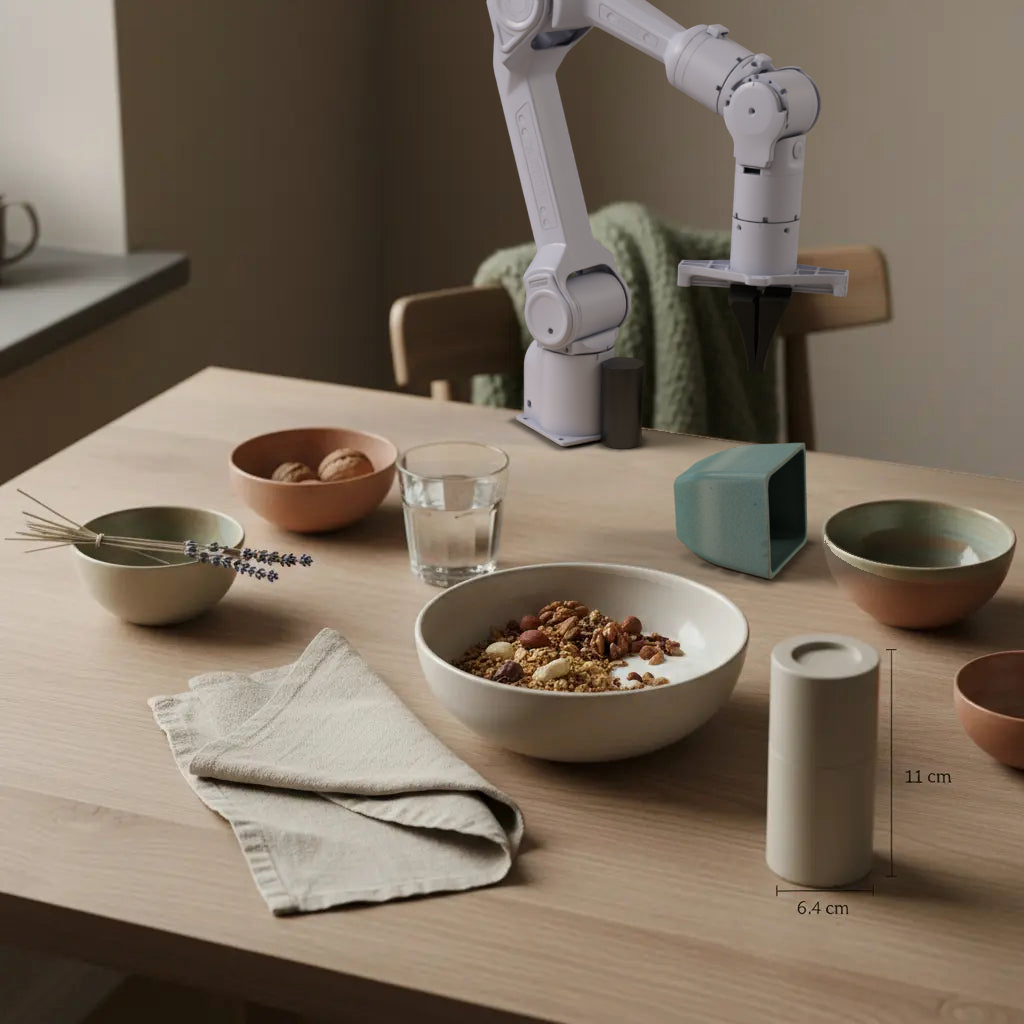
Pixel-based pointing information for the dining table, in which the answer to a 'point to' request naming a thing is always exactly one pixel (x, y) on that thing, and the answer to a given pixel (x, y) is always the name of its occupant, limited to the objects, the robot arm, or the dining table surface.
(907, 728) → the dining table surface
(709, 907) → the dining table surface
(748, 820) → the dining table surface
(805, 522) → the flower pot
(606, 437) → the cylinder
